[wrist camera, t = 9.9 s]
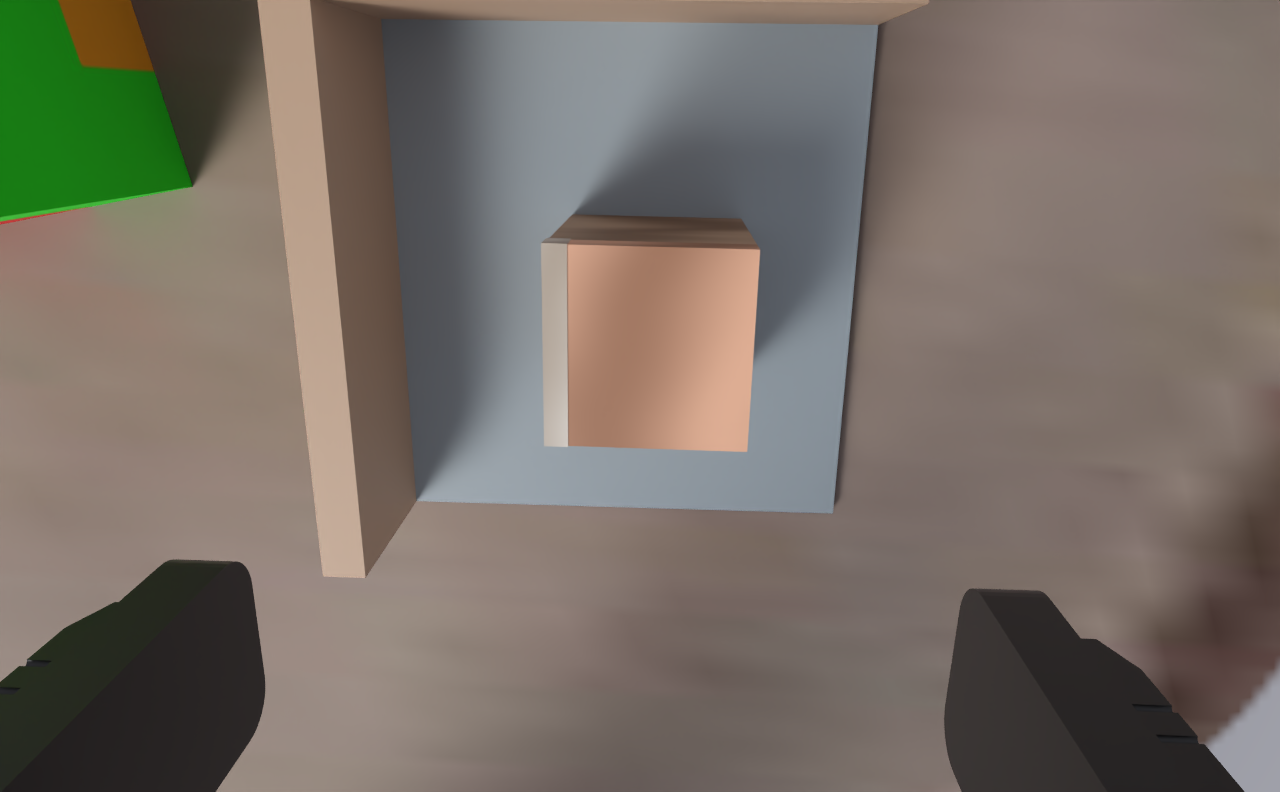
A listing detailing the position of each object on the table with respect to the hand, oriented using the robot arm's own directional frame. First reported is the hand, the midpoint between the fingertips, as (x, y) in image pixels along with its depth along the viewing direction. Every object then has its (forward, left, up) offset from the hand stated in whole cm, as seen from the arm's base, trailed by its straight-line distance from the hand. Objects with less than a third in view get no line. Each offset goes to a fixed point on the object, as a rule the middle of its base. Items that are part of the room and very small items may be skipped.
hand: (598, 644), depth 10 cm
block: (0, 0, -18) cm, 18 cm away
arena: (+1, +1, -18) cm, 18 cm away
